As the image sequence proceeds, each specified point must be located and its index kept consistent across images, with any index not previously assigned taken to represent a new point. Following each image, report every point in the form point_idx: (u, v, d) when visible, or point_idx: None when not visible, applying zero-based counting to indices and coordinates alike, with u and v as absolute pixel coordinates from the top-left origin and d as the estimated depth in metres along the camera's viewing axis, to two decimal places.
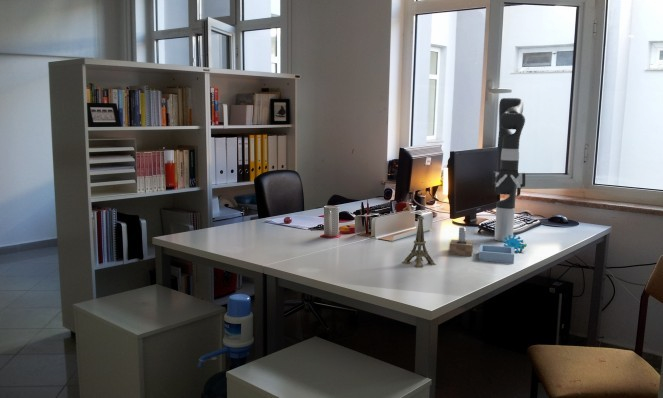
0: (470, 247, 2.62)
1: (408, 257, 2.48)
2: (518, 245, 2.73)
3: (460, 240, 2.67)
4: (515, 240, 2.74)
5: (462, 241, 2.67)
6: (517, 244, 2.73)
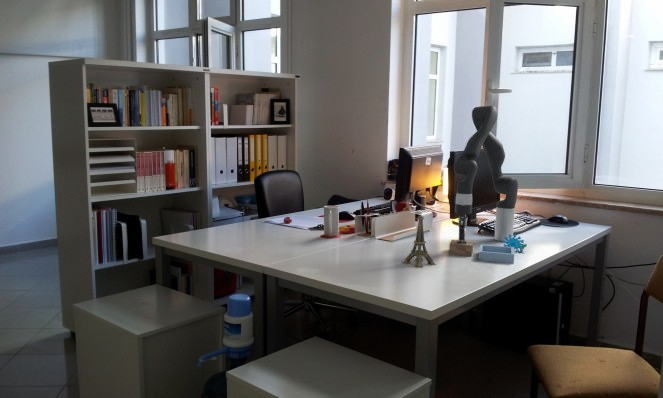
0: (470, 247, 2.62)
1: (408, 257, 2.48)
2: (518, 245, 2.73)
3: (460, 240, 2.67)
4: (515, 240, 2.75)
5: (462, 241, 2.67)
6: (517, 244, 2.73)
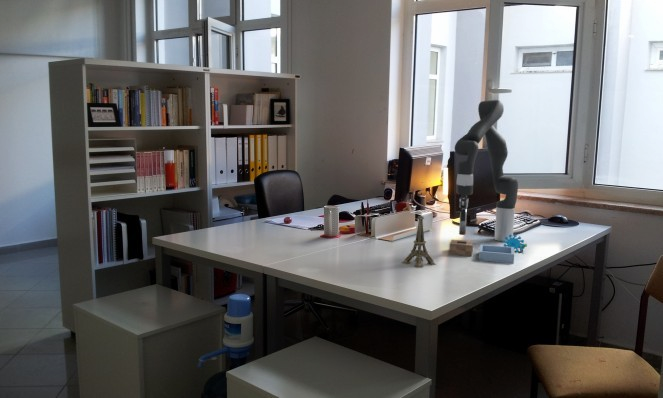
0: (470, 247, 2.62)
1: (408, 257, 2.48)
2: (518, 245, 2.73)
3: (461, 221, 2.66)
4: (515, 240, 2.75)
5: (463, 222, 2.65)
6: (517, 244, 2.74)
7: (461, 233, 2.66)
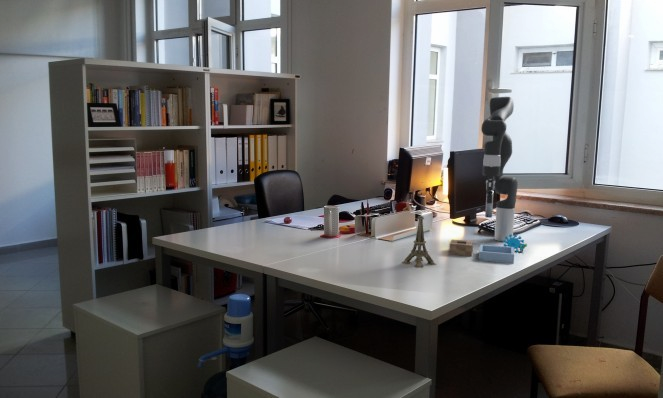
0: (470, 247, 2.62)
1: (408, 257, 2.48)
2: (518, 245, 2.73)
3: (488, 203, 2.58)
4: (515, 240, 2.75)
5: (490, 204, 2.58)
6: (517, 244, 2.74)
7: (487, 216, 2.59)
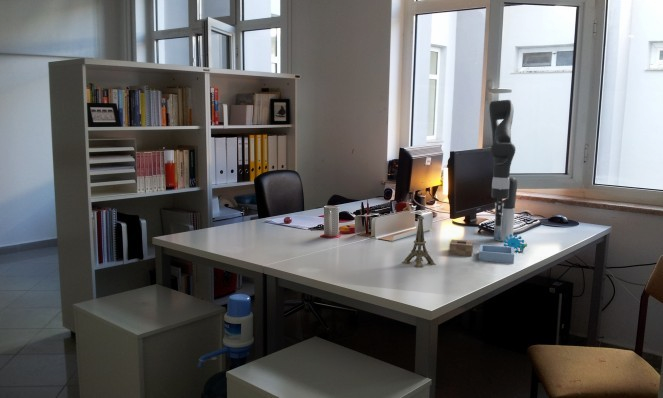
0: (470, 247, 2.62)
1: (408, 257, 2.48)
2: (518, 245, 2.74)
3: (496, 226, 2.57)
4: (516, 240, 2.75)
5: (498, 227, 2.57)
6: (517, 244, 2.74)
7: (496, 238, 2.58)
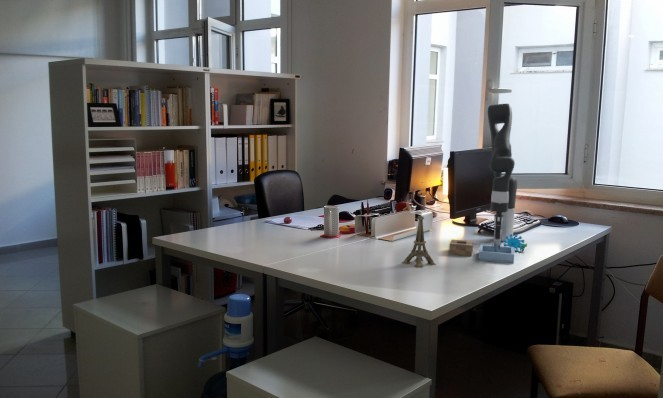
0: (470, 247, 2.62)
1: (408, 257, 2.48)
2: (518, 245, 2.74)
3: (495, 242, 2.59)
4: (516, 240, 2.76)
5: (498, 243, 2.58)
6: (517, 244, 2.74)
7: None
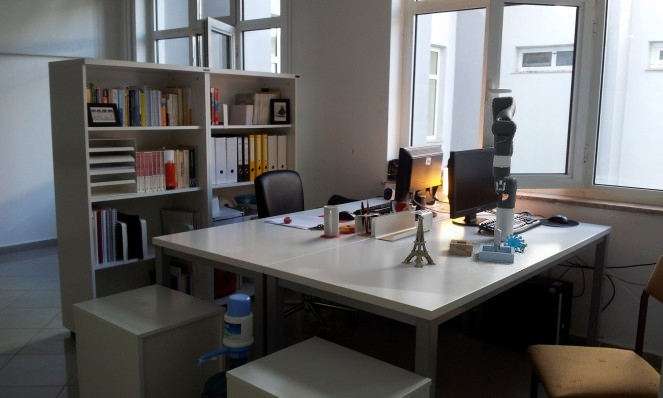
0: (470, 247, 2.62)
1: (408, 257, 2.48)
2: (518, 245, 2.74)
3: (495, 242, 2.59)
4: (516, 240, 2.76)
5: (498, 243, 2.58)
6: (517, 244, 2.74)
7: None
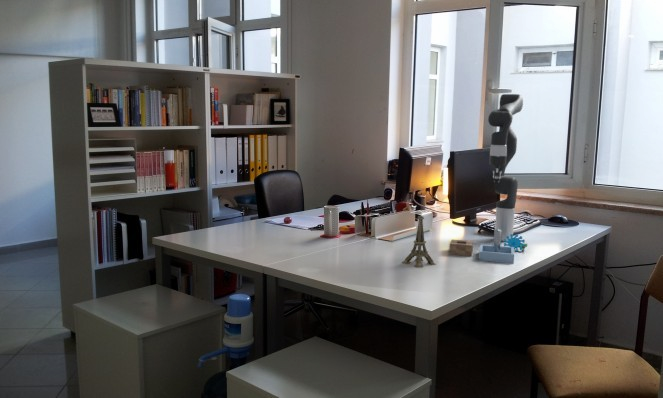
0: (470, 247, 2.62)
1: (408, 257, 2.48)
2: (518, 244, 2.74)
3: (495, 242, 2.59)
4: (516, 239, 2.76)
5: (498, 243, 2.58)
6: (517, 243, 2.74)
7: None
